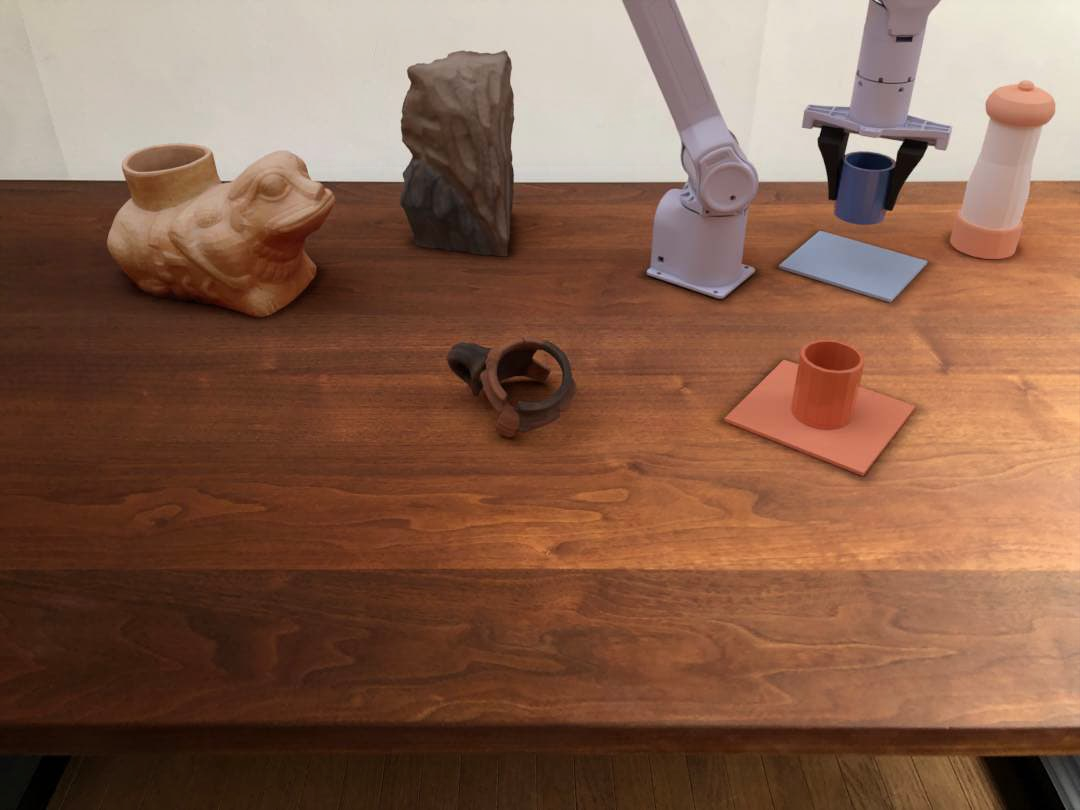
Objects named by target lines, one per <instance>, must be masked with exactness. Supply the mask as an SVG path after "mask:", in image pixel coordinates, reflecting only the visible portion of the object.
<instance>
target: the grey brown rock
mask: <svg viewBox="0 0 1080 810" xmlns="http://www.w3.org/2000/svg"><path fill="white" fill-rule="evenodd" d="M512 70H513V65H512V60H511V57H510V56H509V53H508V51H507V50H505V49H504V50H501V51H499V52H495V53H490V52H478V51H472V50H467V51H466V50H458V51H452V52H449V53H447V56H446V57H444V58H438V59H434V60H433V61H432V62H429V63H426V62H421V63H420V62H419V63H415V64H413V65H410V66H408V68H407V69H406V73H407V74H406V75H407V78H408V80H409V81H410V85H409V88H408V90H407V91H406V94H405V97H404V98H403V99H404V100H403V102H402V107H401V119H400V133H401V142H402V143H403V144H404V146H405V147H406V148H407V149H408V151H409V152H410V154H411V156H412V157H411V159H410V161H409V163H408V165H407V166H406V168H405V169H404V171H403V172H402V178H403V187H402V189H401V192H400V198H399V201H400V202H399V205H400V206H401V207H402V209H403V211H404V213H405V216H406V219H407V221H408V225H409V226H410V230H411V232H412V234H413V238H414V239H413V240H414V243H413V244H414V245H415V246H418V247H422V248H427V249H441V250H442V249H443V250H444V251H447V252H448V251H449V252H452V251H456V252H460V253H461V252H463V253H471V254H473V255H479V256H494V257H495V256H496V257H508V256H509V252H508V247H509V246H508V245H509V242H510V238H511V236H510V234H511V219H512V213H513V206H514V205H513V203H514V193H515V192H514V191H515V190H514V184H515V182H514V181H515V174H514V173H515V172H514V166H513V151H512V134H513V129H514V122H515V103H514V100H515V99H514V98H515V95H514V91H513V87H512V84H511V78H512V77H511V76H512Z"/></svg>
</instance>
